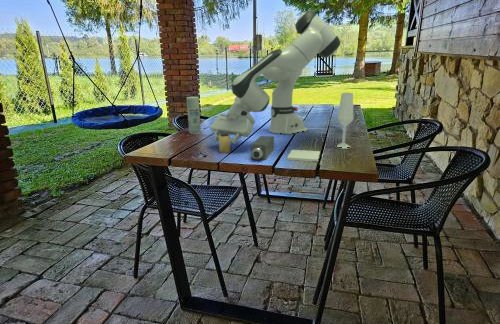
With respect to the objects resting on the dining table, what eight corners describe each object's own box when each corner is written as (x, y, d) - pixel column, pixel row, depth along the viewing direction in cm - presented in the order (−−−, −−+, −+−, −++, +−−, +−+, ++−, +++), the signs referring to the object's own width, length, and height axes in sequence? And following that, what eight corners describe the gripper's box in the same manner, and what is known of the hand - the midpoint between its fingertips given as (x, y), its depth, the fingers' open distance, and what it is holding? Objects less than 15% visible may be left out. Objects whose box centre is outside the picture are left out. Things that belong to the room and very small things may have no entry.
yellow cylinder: (228, 149, 139) (227, 132, 137) (232, 152, 135) (231, 134, 132) (217, 151, 137) (217, 133, 135) (221, 153, 133) (220, 135, 130)
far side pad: (291, 151, 134) (291, 149, 133) (320, 153, 131) (320, 151, 130) (287, 159, 123) (287, 157, 123) (317, 161, 120) (318, 159, 119)
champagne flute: (350, 148, 137) (355, 94, 130) (335, 147, 139) (338, 93, 132) (350, 145, 143) (355, 92, 136) (335, 144, 145) (339, 92, 138)
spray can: (189, 134, 171) (186, 98, 165) (188, 132, 177) (186, 96, 171) (201, 133, 172) (198, 97, 166) (200, 131, 178) (198, 96, 172)
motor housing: (262, 147, 142) (262, 134, 140) (275, 147, 141) (275, 135, 139) (249, 161, 122) (249, 146, 120) (263, 162, 120) (263, 147, 119)
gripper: (216, 110, 142) (202, 134, 137) (252, 113, 131) (239, 140, 126) (222, 118, 147) (209, 142, 142) (258, 122, 136) (245, 148, 131)
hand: (224, 141), depth 134 cm, fingers open, 8 cm apart
